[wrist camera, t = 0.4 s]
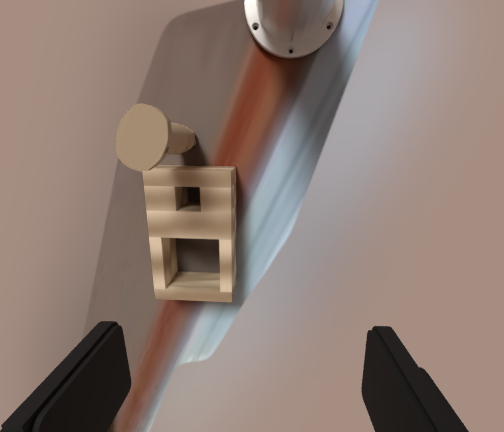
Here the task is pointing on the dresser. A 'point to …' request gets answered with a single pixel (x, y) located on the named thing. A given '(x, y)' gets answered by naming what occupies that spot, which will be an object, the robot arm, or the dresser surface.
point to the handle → (150, 137)
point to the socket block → (192, 231)
